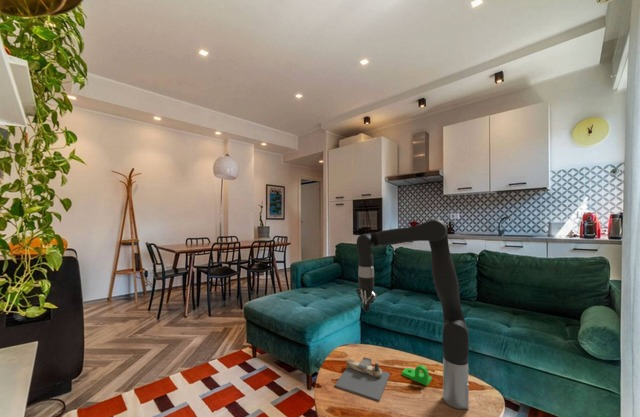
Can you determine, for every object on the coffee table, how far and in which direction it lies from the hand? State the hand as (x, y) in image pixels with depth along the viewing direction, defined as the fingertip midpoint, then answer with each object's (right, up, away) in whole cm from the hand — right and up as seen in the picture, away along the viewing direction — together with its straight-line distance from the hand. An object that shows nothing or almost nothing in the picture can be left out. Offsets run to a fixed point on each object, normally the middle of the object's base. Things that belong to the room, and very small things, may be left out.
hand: (366, 311), depth 128 cm
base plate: (-2, -30, -5) cm, 31 cm away
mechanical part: (+23, -31, -3) cm, 39 cm away
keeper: (0, -29, +1) cm, 29 cm away
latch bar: (-1, -29, 0) cm, 29 cm away
